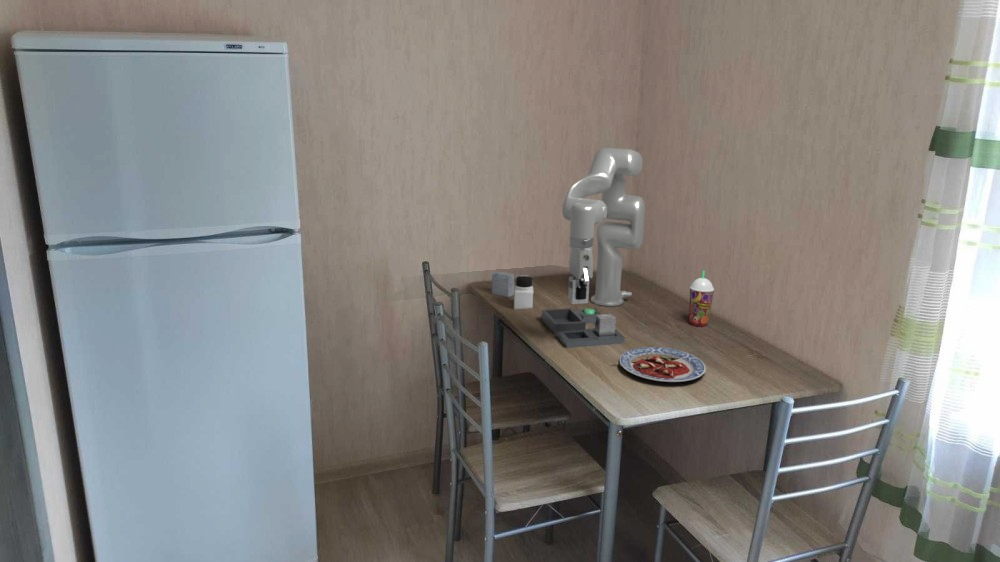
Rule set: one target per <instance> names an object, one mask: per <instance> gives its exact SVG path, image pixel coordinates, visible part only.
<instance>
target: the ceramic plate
mask: <svg viewBox="0 0 1000 562" xmlns="http://www.w3.org/2000/svg"><path fill="white" fill-rule="evenodd" d="M644 355H662V356H661V357H658V356H647V357H645V358H641V359H638V360H636V361H633V359H635V358H637V357H640V356H644ZM663 355H664V356H663ZM665 355H666V356H665ZM667 356H670V357H667ZM673 357H675V358H673ZM662 358H663V359H662ZM619 364H620V365H621V367H622V368H623V369H624V370H625V371H626V372H629V373H630V374H632V375H635V376H637V377H640V378H642V379H646V380H651V381H656V382H666V383H667V382H668V383H681V382H688V381H693V380H696V379H698V378H700V377H702V376H703V375H704V374H705V373H706V371H707V370H706V369H707V368H706V365H705V363H704V362H703V360H701V359H700V358H698V357H697V356H696V355H695V356H694V355H693V354H690V353H688V352H685V351H683V350H678V349H672V348H667V347H657V346H648V347H638V348H633V349H629V350H627V351H625V352H623V353H622V354H621V355H620V357H619Z"/></svg>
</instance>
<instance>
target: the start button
mask: <svg viewBox="0 0 1000 562" xmlns="http://www.w3.org/2000/svg"><path fill="white" fill-rule="evenodd" d="M584 309H585V310H584V313H585V314H594V312H595V310H594V309H591V307H588V308H587V307H586V308H584Z"/></svg>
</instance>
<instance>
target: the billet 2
mask: <svg viewBox="0 0 1000 562" xmlns="http://www.w3.org/2000/svg"><path fill="white" fill-rule="evenodd" d="M616 323H617V317H616V316H615V315H614V314H612V313H606V314H605V313H604V314H602V313H601V315H596V321H595V323H594V328H595V335H596V336H597V337H604V336H615V329H616Z"/></svg>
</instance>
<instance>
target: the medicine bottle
mask: <svg viewBox="0 0 1000 562" xmlns="http://www.w3.org/2000/svg"><path fill="white" fill-rule="evenodd" d="M515 279H516V280H515V285H514V295H513V297H514V298H513V309H514V310H521V309H523V310H524V309H533V308H534V297H535V296H534V294H535V293H534V286H533V278H532V276H529V275H518V276H517V277H516V278H515Z"/></svg>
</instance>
